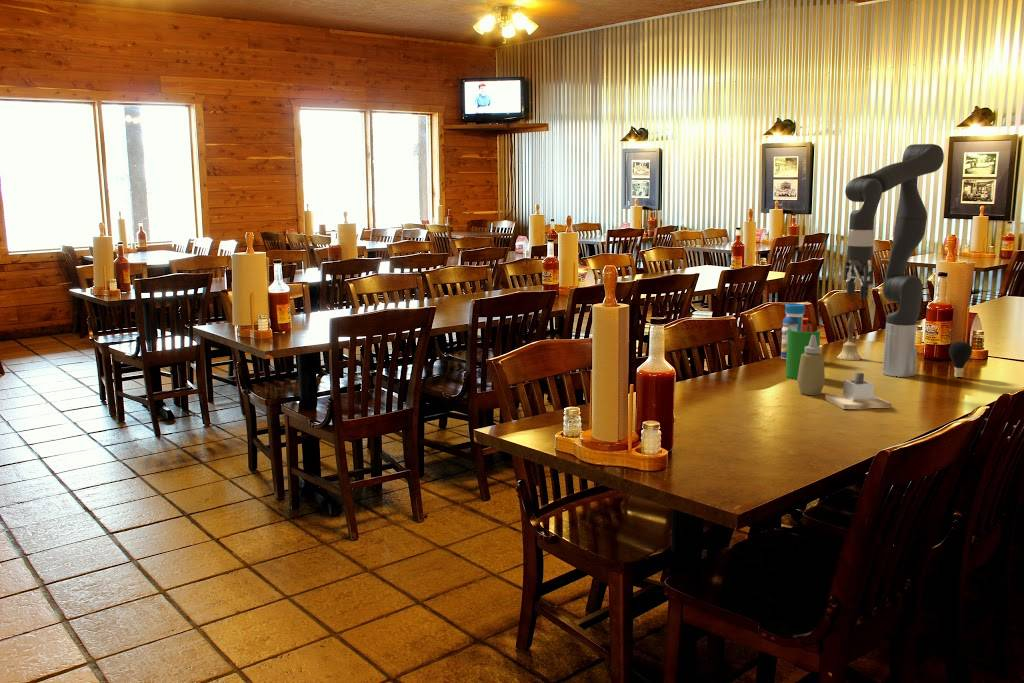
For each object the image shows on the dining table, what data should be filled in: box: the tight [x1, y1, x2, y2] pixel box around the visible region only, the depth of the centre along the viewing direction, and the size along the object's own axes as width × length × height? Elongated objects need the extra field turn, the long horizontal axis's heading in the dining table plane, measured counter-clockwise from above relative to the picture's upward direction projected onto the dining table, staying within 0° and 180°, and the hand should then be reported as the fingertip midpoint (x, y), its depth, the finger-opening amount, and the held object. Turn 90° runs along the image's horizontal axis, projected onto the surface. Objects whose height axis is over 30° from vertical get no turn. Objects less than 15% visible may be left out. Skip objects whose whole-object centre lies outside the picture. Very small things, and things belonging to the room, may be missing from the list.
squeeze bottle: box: [796, 335, 826, 396], centre depth 268 cm, size 8×8×18 cm
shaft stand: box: [824, 372, 893, 410], centre depth 256 cm, size 14×12×9 cm
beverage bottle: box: [780, 302, 806, 360], centre depth 319 cm, size 8×8×20 cm
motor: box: [785, 317, 821, 380], centre depth 290 cm, size 10×9×20 cm
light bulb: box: [948, 340, 973, 378], centre depth 289 cm, size 7×7×12 cm
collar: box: [842, 379, 875, 402], centre depth 256 cm, size 6×6×5 cm
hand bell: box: [836, 314, 862, 361], centre depth 321 cm, size 8×8×16 cm
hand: (856, 296), depth 276 cm, fingers open, 8 cm apart
